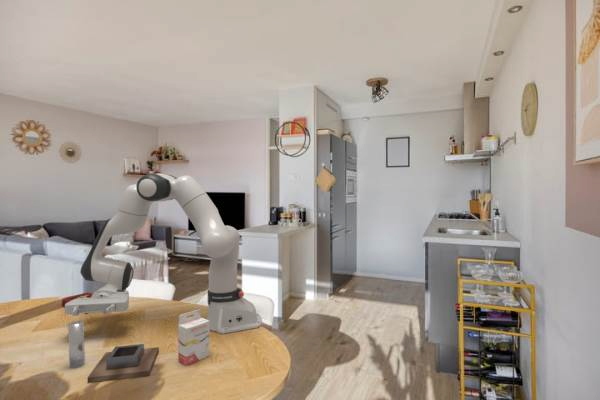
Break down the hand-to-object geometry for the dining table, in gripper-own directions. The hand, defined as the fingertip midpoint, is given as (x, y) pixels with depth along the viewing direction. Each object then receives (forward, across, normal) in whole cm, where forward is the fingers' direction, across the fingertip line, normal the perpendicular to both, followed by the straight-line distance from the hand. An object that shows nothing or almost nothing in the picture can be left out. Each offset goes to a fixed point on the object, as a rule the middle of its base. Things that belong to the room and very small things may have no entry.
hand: (90, 312), depth 115 cm
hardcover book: (-46, -17, +13) cm, 51 cm away
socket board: (+16, +16, +12) cm, 25 cm away
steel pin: (+12, +1, +12) cm, 17 cm away
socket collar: (+16, +16, +10) cm, 25 cm away
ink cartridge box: (+16, +36, +11) cm, 41 cm away
